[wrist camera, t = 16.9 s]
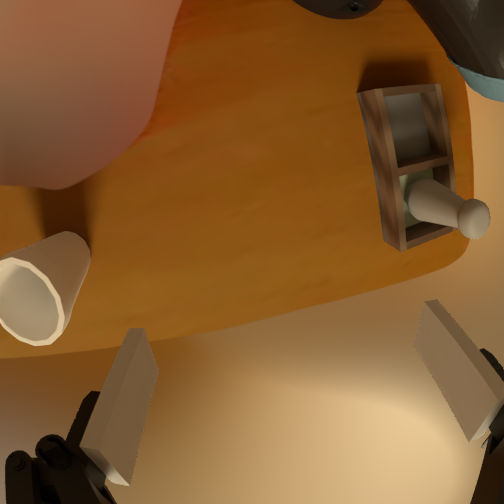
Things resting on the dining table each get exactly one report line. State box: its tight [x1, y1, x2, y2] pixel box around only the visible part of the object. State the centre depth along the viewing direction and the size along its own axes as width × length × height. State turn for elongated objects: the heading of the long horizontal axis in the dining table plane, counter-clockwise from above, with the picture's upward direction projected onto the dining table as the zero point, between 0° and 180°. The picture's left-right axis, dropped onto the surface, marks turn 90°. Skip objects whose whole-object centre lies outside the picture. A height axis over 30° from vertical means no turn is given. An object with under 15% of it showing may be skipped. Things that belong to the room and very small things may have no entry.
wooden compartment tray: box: [357, 83, 458, 252], centre depth 35 cm, size 20×10×4 cm, turn 16°
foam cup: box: [0, 231, 91, 346], centre depth 29 cm, size 10×9×13 cm
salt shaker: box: [404, 177, 490, 239], centre depth 32 cm, size 6×6×13 cm
